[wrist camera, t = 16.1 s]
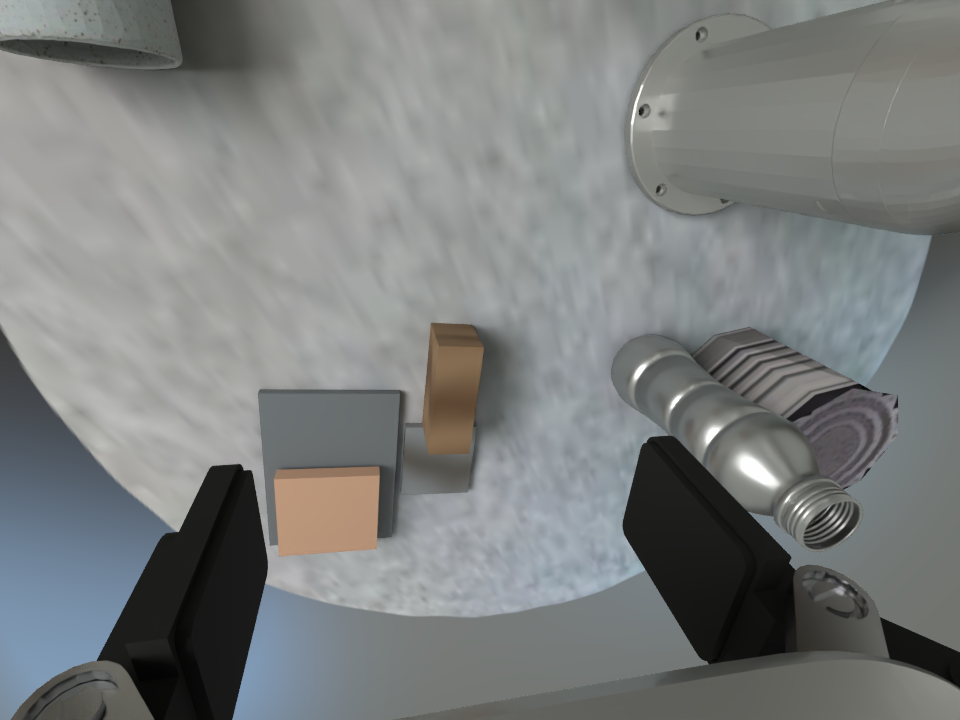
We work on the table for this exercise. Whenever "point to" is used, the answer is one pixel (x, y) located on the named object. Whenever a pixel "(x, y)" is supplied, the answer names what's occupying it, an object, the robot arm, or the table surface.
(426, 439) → the tall brown block
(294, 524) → the tile
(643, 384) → the silver bottle
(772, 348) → the ribbed tin
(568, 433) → the table surface
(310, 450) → the mat
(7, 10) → the ceramic mug
